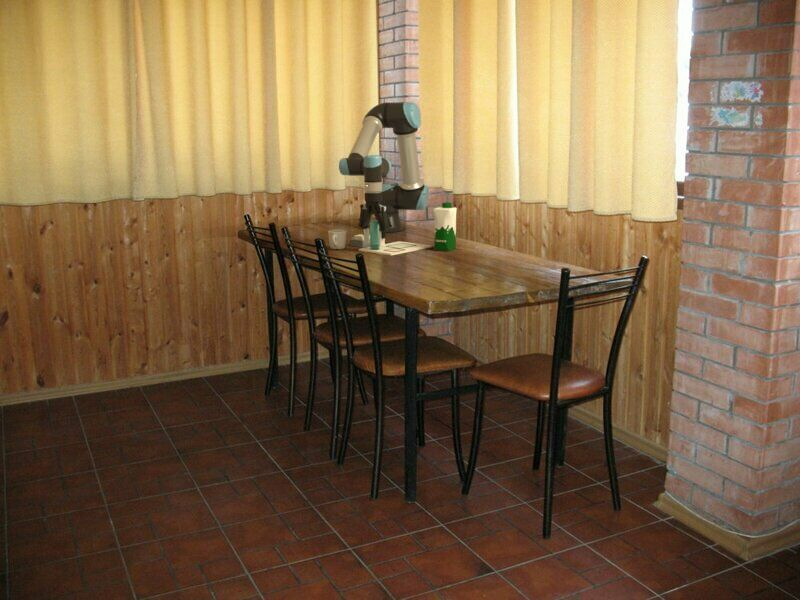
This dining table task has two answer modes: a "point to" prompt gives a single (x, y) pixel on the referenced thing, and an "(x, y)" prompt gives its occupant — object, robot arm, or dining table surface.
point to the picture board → (396, 248)
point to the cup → (337, 238)
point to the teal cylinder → (374, 235)
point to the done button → (359, 237)
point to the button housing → (358, 243)
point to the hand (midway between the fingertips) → (374, 244)
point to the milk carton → (445, 227)
